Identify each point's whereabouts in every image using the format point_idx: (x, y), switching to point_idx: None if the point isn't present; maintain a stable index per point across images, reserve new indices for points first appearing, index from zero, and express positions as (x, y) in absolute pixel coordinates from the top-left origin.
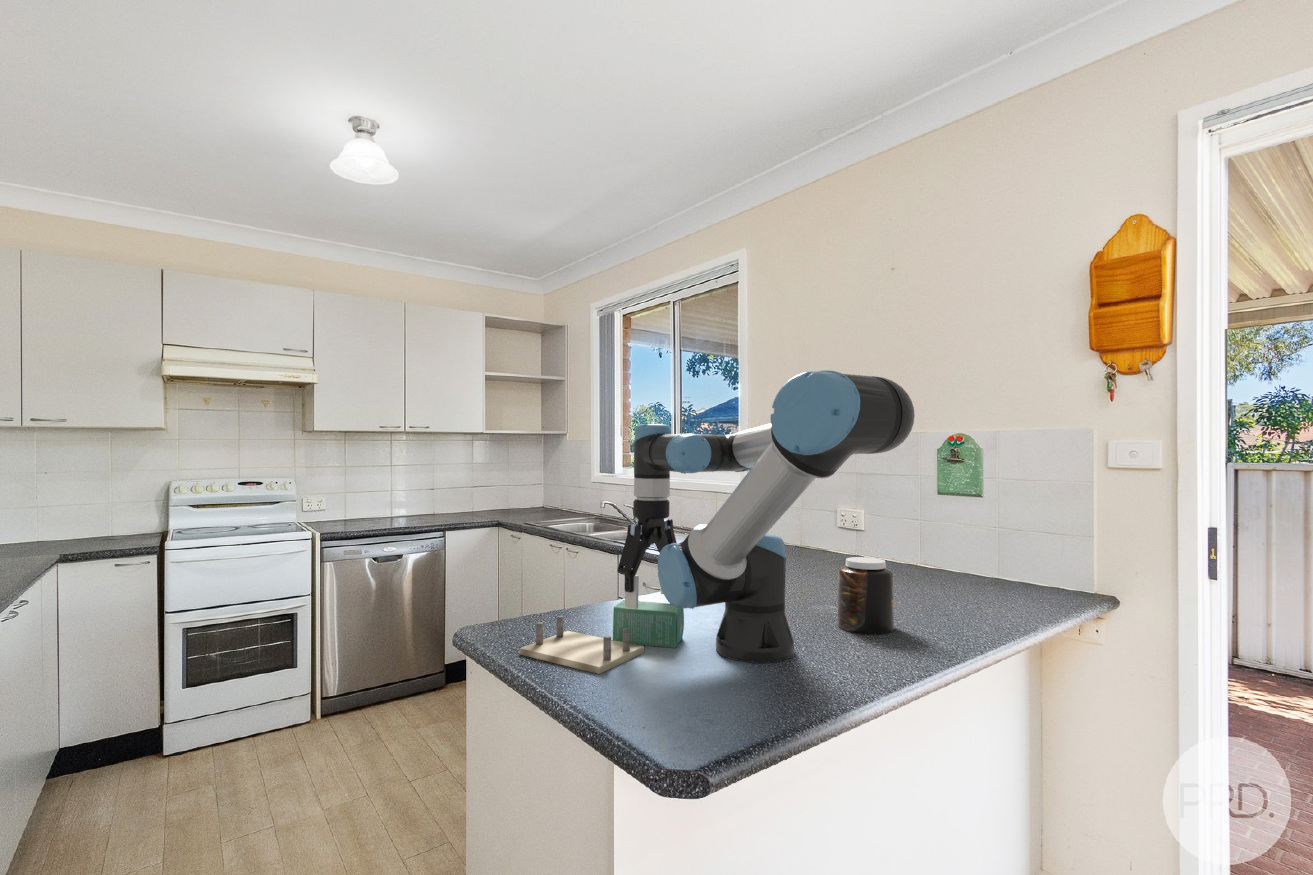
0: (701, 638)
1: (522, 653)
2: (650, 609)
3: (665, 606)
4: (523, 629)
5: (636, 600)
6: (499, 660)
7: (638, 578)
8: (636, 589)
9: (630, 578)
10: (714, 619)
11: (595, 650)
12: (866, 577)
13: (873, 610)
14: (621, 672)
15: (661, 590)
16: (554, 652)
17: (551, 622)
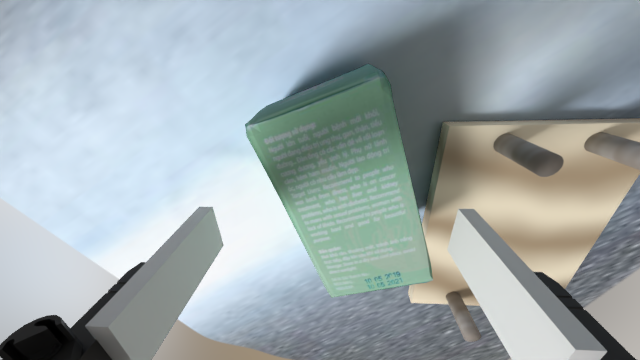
0: (241, 55)
1: None
2: (399, 183)
3: (327, 161)
4: (405, 350)
5: (489, 230)
6: (583, 304)
7: (557, 327)
8: (529, 269)
9: (626, 353)
10: (81, 123)
11: (526, 201)
12: None
13: None
14: (627, 77)
15: (217, 252)
16: (564, 256)
17: (348, 341)
